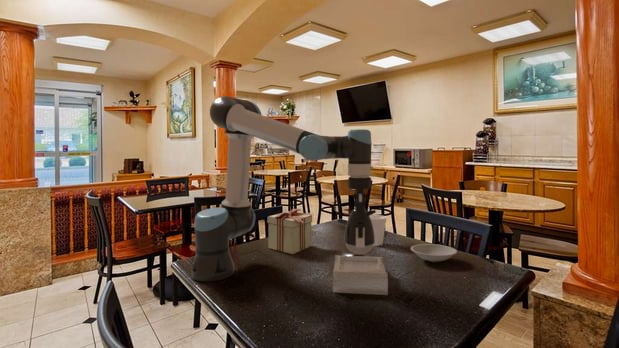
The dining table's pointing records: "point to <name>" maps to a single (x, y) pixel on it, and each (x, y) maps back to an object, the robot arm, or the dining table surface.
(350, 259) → the white tray
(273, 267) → the dining table surface
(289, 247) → the gift box
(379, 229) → the foam cup
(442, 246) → the dish
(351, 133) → the robot arm
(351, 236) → the pump dispenser
